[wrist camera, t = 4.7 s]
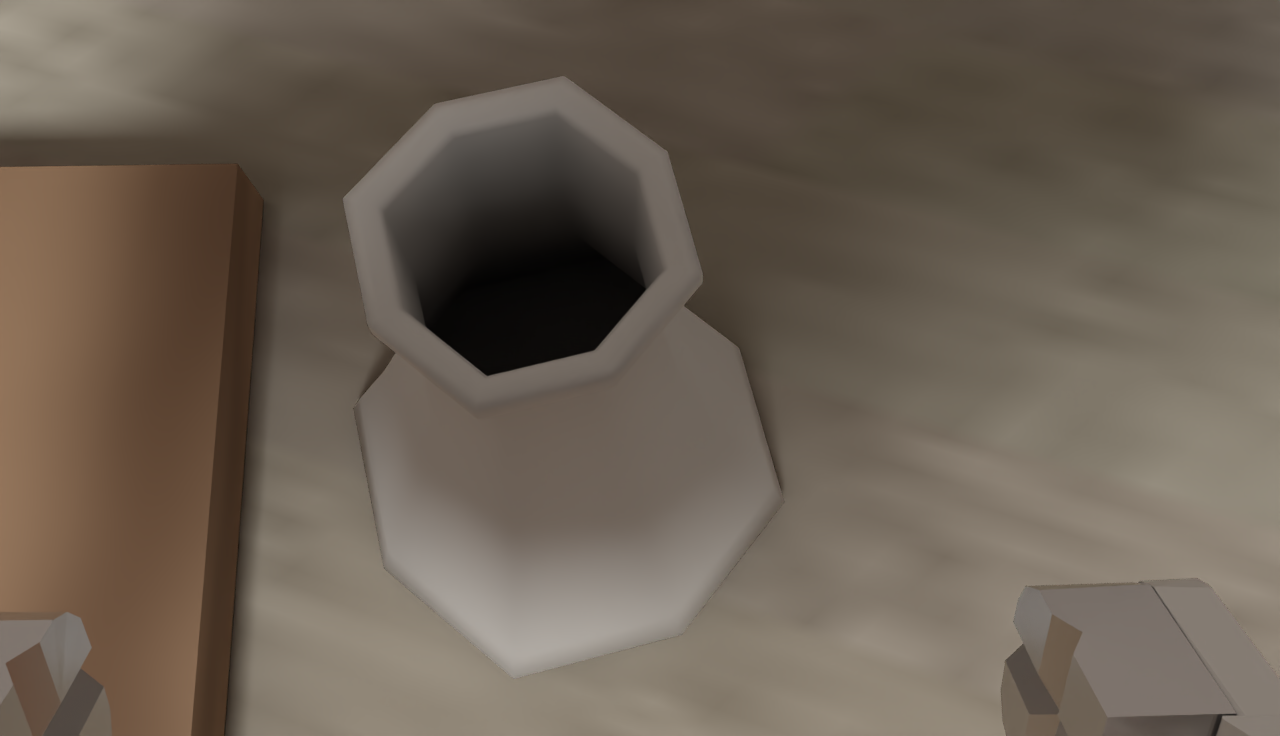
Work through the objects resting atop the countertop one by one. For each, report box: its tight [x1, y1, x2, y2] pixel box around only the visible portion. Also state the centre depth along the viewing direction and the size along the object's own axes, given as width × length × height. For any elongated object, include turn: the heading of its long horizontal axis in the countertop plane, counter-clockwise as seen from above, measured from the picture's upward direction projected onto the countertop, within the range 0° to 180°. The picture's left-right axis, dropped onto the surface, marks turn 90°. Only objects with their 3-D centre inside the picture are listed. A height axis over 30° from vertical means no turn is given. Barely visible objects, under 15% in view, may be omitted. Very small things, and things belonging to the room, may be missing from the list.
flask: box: [343, 76, 784, 679], centre depth 15 cm, size 7×7×10 cm
